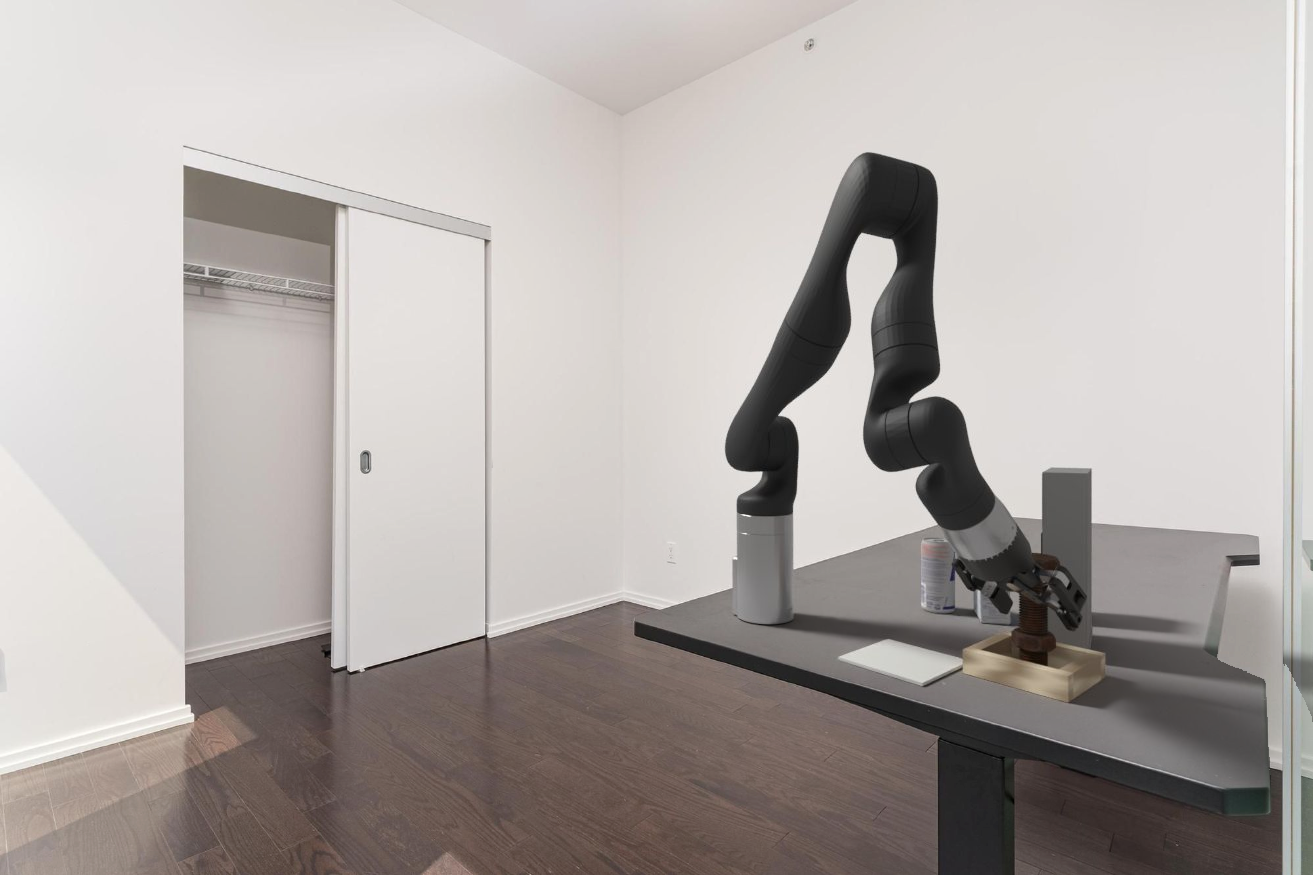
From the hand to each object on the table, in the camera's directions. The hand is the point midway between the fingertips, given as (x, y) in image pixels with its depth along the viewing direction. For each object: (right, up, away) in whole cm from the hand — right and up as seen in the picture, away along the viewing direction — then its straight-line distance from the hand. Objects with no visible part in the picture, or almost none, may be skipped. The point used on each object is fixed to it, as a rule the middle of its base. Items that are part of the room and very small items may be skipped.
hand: (1039, 616), depth 84 cm
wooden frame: (-1, -7, -1) cm, 7 cm away
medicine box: (+6, -7, +25) cm, 27 cm away
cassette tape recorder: (+10, -7, +11) cm, 17 cm away
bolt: (-1, -7, -1) cm, 8 cm away
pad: (-15, -7, +4) cm, 18 cm away
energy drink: (0, -7, +30) cm, 31 cm away
